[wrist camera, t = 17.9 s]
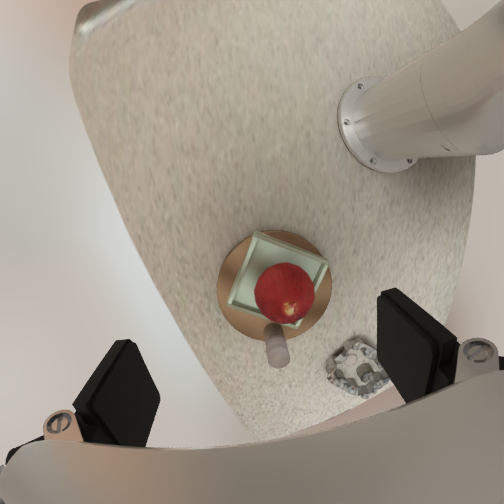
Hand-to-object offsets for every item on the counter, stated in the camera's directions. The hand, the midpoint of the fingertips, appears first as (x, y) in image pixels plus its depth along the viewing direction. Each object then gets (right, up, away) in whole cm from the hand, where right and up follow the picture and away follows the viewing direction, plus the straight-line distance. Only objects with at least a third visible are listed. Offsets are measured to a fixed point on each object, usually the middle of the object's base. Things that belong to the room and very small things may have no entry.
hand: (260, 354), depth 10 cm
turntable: (+2, 0, +23) cm, 24 cm away
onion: (+3, +1, +21) cm, 21 cm away
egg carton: (+16, -13, +29) cm, 35 cm away
